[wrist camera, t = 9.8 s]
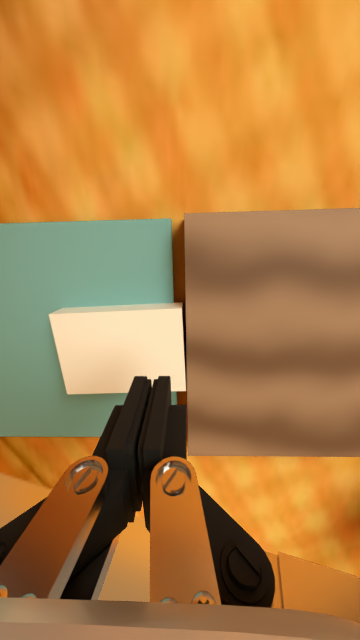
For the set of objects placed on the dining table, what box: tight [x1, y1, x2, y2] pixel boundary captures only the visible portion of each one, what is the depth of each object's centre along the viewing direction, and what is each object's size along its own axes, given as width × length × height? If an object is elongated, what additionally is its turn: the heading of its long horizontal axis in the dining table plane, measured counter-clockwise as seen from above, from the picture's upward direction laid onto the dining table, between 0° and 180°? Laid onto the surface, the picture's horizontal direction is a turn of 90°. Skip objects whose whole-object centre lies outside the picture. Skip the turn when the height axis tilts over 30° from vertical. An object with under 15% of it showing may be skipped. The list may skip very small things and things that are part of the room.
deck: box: [184, 208, 360, 457], centre depth 18 cm, size 20×16×2 cm
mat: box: [0, 219, 177, 437], centre depth 20 cm, size 20×19×1 cm
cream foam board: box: [49, 302, 186, 394], centre depth 19 cm, size 7×10×2 cm
